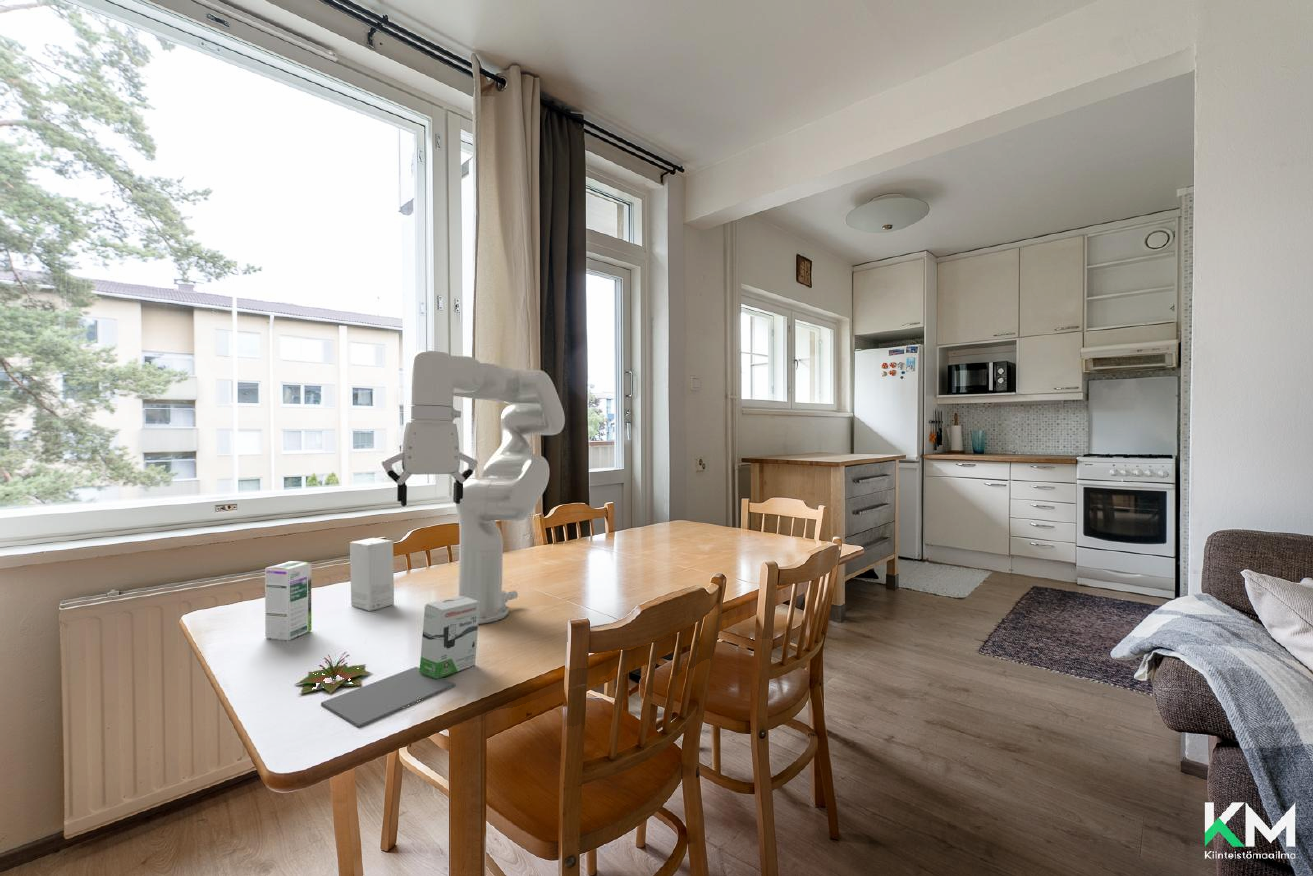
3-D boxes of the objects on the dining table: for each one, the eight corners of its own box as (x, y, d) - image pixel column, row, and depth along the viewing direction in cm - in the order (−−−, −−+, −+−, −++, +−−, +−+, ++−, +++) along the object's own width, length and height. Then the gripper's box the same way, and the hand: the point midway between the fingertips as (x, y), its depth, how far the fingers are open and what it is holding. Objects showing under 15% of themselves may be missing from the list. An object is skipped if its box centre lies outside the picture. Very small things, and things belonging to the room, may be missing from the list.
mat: (416, 668, 98) (416, 666, 98) (455, 686, 92) (455, 683, 92) (320, 705, 85) (321, 702, 85) (359, 727, 79) (359, 725, 79)
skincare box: (394, 605, 133) (395, 540, 132) (367, 612, 127) (368, 545, 127) (374, 598, 137) (375, 536, 137) (348, 605, 132) (348, 540, 131)
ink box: (436, 680, 93) (440, 609, 93) (417, 673, 96) (422, 603, 96) (477, 665, 100) (481, 599, 101) (459, 658, 103) (463, 594, 103)
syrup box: (288, 641, 109) (289, 568, 109) (263, 638, 110) (264, 566, 110) (312, 631, 115) (312, 562, 115) (288, 628, 116) (288, 560, 116)
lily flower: (299, 673, 97) (299, 647, 96) (376, 662, 101) (376, 638, 101) (284, 705, 86) (285, 676, 86) (371, 691, 90) (372, 664, 90)
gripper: (473, 417, 114) (472, 500, 115) (381, 414, 106) (379, 503, 106) (482, 417, 108) (480, 504, 108) (384, 413, 99) (382, 508, 99)
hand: (430, 504), depth 107 cm, fingers open, 9 cm apart
